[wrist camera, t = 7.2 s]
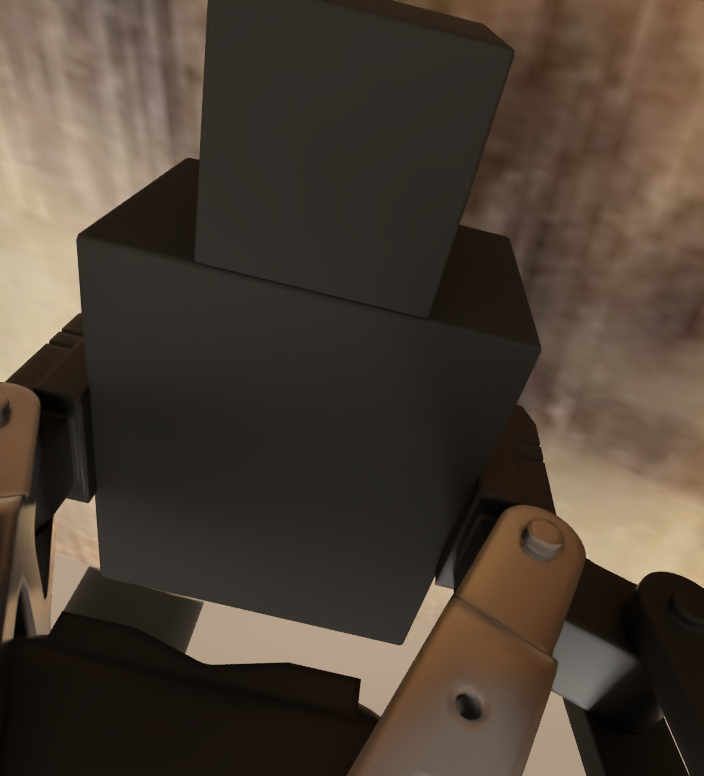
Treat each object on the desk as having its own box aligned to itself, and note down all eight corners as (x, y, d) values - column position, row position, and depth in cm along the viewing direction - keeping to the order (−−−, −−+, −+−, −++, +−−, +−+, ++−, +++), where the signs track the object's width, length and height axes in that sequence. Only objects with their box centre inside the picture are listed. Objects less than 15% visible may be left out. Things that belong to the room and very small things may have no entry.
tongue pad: (409, 499, 15) (402, 648, 11) (175, 443, 14) (99, 577, 11) (582, 49, 9) (669, 87, 6) (194, -51, 9) (49, -72, 5)
